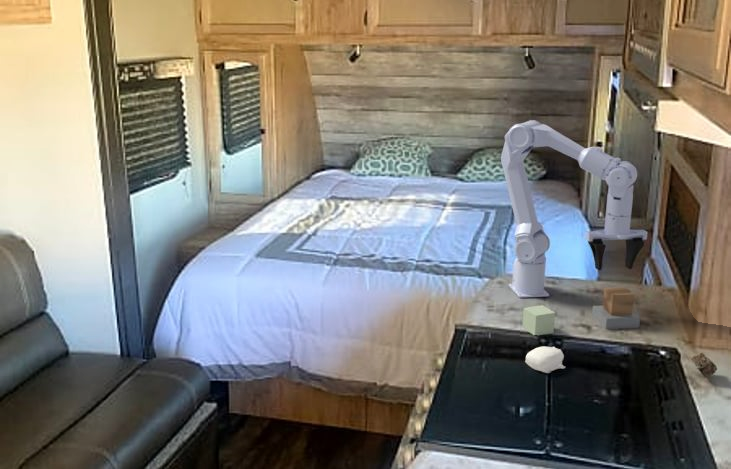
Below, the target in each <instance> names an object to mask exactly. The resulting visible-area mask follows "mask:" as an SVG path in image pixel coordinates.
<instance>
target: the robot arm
mask: <svg viewBox="0 0 731 469" xmlns="http://www.w3.org/2000/svg"><path fill="white" fill-rule="evenodd" d="M542 147H549V148H551V149H553V150H556V151H557V152H560V153H562V154H563V155H566V156H568V157H571V158H572V159H574V160H576V161H577V162H578V165H579V168H581V169H582V170H584V171H585V172H588V173H589V174H591V175H593V176H595V177H597V178H598V179H600V180H602V181H605V182H606V184H607V186H608V191H607V196H606V209H605V219H604V220H605V221H604V229H597V230H592V231H586V232H585V240H586V241H587V242H588V245H589V247H590V250H591V253H592V256H593V261H594V267H595V269H597V270H598V271H602V269H603V258H604V253H605V249H606V247H607V246H606V244H604V241H616V240H625V249H626V251H625V261H624V267H625V268H627V269H628V270H632V268H633V267H634V263H635V261H636V258H637V256H638V255H639V253H640V251H641V250H642V248H643V247H645V241H646V240H647V239H648V231H646V230H645V229H631V222H632V221H631V220H632V209H633V202H634V201H633V200H634V199H633V198H634V194H633V192H634V184H635V182H636V180H637V177H638V170H637V168H636V166H635V165H633V164H632V163H631V162H630V161H627V160H626V161H623V160H622V159H621V158H620V157H614V156H611V155H610V154H608V153H606V152H604V151H603V150H604V149H603V148H602V147H600V146H597V147H595V146H590V147H587V148H585V147H583V145H581V144H578V143H577V142H575V141H573V140H572V139H570V138H568V137H567V136H565V135H563V134H562V133H560V132H558V131H557V130H555V129H553V128H552V127H550V126H549V125H547V124H544V123H540V122H539V121H538V120H533V119H530V120H528V121H525V122H522V123H515V124H514V125H513V126H511V127H510V128H509V130H508V131H507V132H506V133H505V135H504V144H503V148H502V151H501V156H500V161H501V165H502V169H503V175H504V178H505V182H506V186H507V191H508V195H509V198H510V203H511V207H512V211H513V215H514V220H515V223H516V224H515V225H516V227H515V232H514V240H515V242H514V243H515V244H514V248H513V249H514V254H515V256H516V258H515V260H514V261H513V266H512V282H511V283H509V284H508V286H509V288H511V290H512V291H513V292H514V293H515V294H516V295H517V297H518V298H539V297H540V298H543V297H545V298H546V297H550V294H549V293H548V292H547V291H546V290H545V281H546V280H545V277H546V264H547V257H546V252H547V251H548V250H549V249H550V245H551V241H550V237H549V236H548V235H547V233H546V232H545V229H544V227H543V225H542V223H541V222H540V221H539V220H538V218H537V212H536V208H535V204H534V200H533V196H532V192H531V187H530V184H529V180H528V176H527V171H526V170H527V169H526V166H525V163H524V161H525V159H526V157H527V156H528V154H530V152H531V151H532V149H534V148H542ZM621 160H622V161H621ZM644 240H645V241H644Z"/></svg>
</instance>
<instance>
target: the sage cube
mask: <svg viewBox="0 0 731 469" xmlns="http://www.w3.org/2000/svg"><path fill="white" fill-rule="evenodd" d="M522 313H523V314H522V315H523V316H522V328H523V329H524V330H525V331H527V332H529V333H530V334H532V335H533V336H534V335H537V336H542V335H549V334H554V333H555V332H554V331H555V318H556V312H555V311H553V310H552V309H550V308H548V307H546V306H544V305H543V304H541V305H534V306H529V307H523V312H522Z"/></svg>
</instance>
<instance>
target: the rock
mask: <svg viewBox="0 0 731 469" xmlns="http://www.w3.org/2000/svg"><path fill="white" fill-rule="evenodd" d="M689 359H690V360H691V361H692V363H693V364H694V368H695V369H696V370H698V371H699V372H700V374H701V375H702V377H704V378H705V379H707V378H708V377H711V376H712V375H714V374H715V373H716V371H717V370H718V368H717V365H716V364H715V363H714V362H713V361H712V360H711V359H710V358H708V357H707V356H706V355H705V353H703V352H700V353H699V354H697V355H694V356H693V357H689Z"/></svg>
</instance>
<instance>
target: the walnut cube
mask: <svg viewBox="0 0 731 469" xmlns="http://www.w3.org/2000/svg"><path fill="white" fill-rule="evenodd" d="M634 298H635V294H634V293H633V292H632V291H631V290H630V289H628V288H627V287H626V286H620V287H619V286H617V287H614V286H613V287H604V292H603V300H602V301H603V302H602V306H603V308H604V309H605V310H606V311H607V312H608V313H609V314H610V315H632V311H633V308H634Z"/></svg>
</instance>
